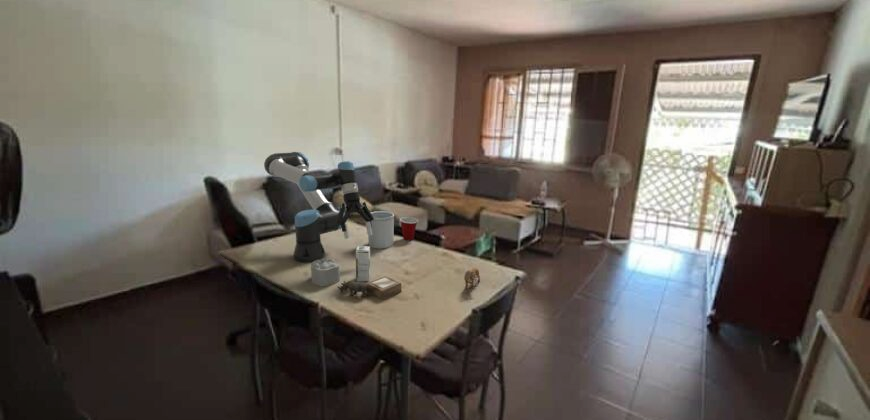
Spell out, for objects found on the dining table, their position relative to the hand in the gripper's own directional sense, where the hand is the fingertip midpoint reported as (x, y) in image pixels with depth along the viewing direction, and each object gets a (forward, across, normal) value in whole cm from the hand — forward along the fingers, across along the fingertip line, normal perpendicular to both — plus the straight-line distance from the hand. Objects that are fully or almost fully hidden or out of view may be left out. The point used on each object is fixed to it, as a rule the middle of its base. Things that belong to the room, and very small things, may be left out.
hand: (359, 236), depth 181 cm
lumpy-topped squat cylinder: (+16, -19, +4) cm, 26 cm away
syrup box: (+20, -7, -7) cm, 22 cm away
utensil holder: (+4, +28, +19) cm, 34 cm away
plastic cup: (+4, +46, +14) cm, 49 cm away
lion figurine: (+32, +20, -44) cm, 58 cm away
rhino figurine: (+25, -20, -15) cm, 35 cm away
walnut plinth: (+26, -10, -22) cm, 35 cm away
